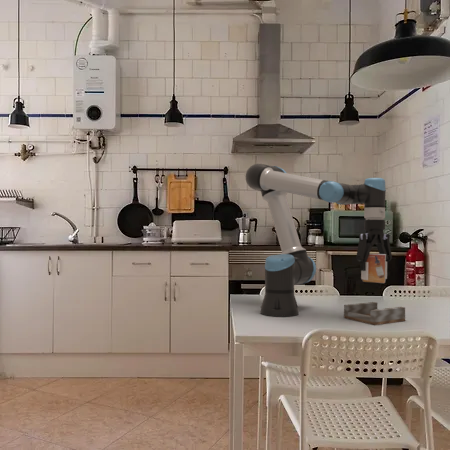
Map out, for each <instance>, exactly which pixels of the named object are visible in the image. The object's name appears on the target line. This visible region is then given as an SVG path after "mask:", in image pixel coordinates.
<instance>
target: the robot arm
mask: <svg viewBox="0 0 450 450" xmlns="http://www.w3.org/2000/svg"><path fill="white" fill-rule="evenodd" d="M245 181H246V184H247V186H248V187H250V188H251V189H252V190H255V191H259V192H260V193H261V197H262V199H263V200H264V201H266V202H267V205H268V209H269V212H270V215H271V219H272V221H273V226H274V229H275V232H276V236H277V240H278V243H279V245H280V246H279V247H280V250H281V253H280V254H272V255H269V256H267V257H266V258H265V263H264V292H265V293H264V296H263V299H262V303H261V306H260V314H261V315H264V316H269V317H270V316H271V317H294V316H298V315H299V311H300V308H299V307H298V302H297V299H296V296H295V286H297V285H304V284H306V283H309V282H311V281H312V280H313V279H314V277H315V275H316V273H317V266H316V263H315V260H314V259H313V258H311V257H310V256H309V255H308V251H307V249H306V248H304V247H303V246H302V244H301V240H300V239H299V235H298V231H297V227H296V226H295V225H296V224H295V222H294V218H293V215H292V212H291V209H290V208H291V207H290V205H289V202H288V199H287V194H292V195H297V196H301V197H302V196H303V197H307V198H312V199H316V200H320V201H324V202H327V203H332V204H335V203H336V204H337V205H345V206H347V205H364V209H363V212H364V213H363V217H364V222H363V227H364V230H365V233H359V235H358V239H359V241H358V245H357V251H356V257H355V260H356V261H357V262H359V263H360V265H359V266H360V268H359V269H360V274H361V275H360V279H361V280H362V281H363V280H368V262H366V261H367V259H368V256H369V254H371V250H372V248H373V247H374V246H376V247H377V248H376V249H377V251H378V254H386V277H385V280H387V279H388V267H389V265H388V263H389V262H391V260H392V259H393V256H392V255H393V254H392V249H391V242H390V239H391V237H390V233H384V230H386V220H385V219H386V196H387V195H386V193H387V192H386V191H387V190H386V189H387V188H386V181H385V179H384V178H382V177H369V178H365V179H364V183H362V184H347V183H341V182H336V181H333V180H325V179H321V178H316V177H315V178H314V177H311V176H310V177H308V176H303V175H299V174H293V173H288V172H287V171H286V170H285V169H283V168H282V167H279V166H277V165H269V164H263V163H254V164H252V165H250V167H248V169H247V170H246V173H245Z"/></svg>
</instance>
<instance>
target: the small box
mask: <svg viewBox="0 0 450 450" xmlns="http://www.w3.org/2000/svg"><path fill="white" fill-rule="evenodd" d="M366 262H368V280H363V279H362V282H365V283H378V284H385V283H386V279H385V277H386V254H379V253H369V256H368V259H367V261H366Z"/></svg>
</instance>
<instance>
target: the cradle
mask: <svg viewBox="0 0 450 450" xmlns="http://www.w3.org/2000/svg"><path fill="white" fill-rule="evenodd" d="M343 318H344V319H347V320H350V321H351V320H352V321H354V322H355V321H356V322H359V323H363V324H368V325H372V326H379V325H388V324H394V323H399V322H406V307H405V306H395V307H385V308H378V302H377V301H376V302H375V301H370V302H369V301H368V302H359V303H350V304H344V305H343Z"/></svg>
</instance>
